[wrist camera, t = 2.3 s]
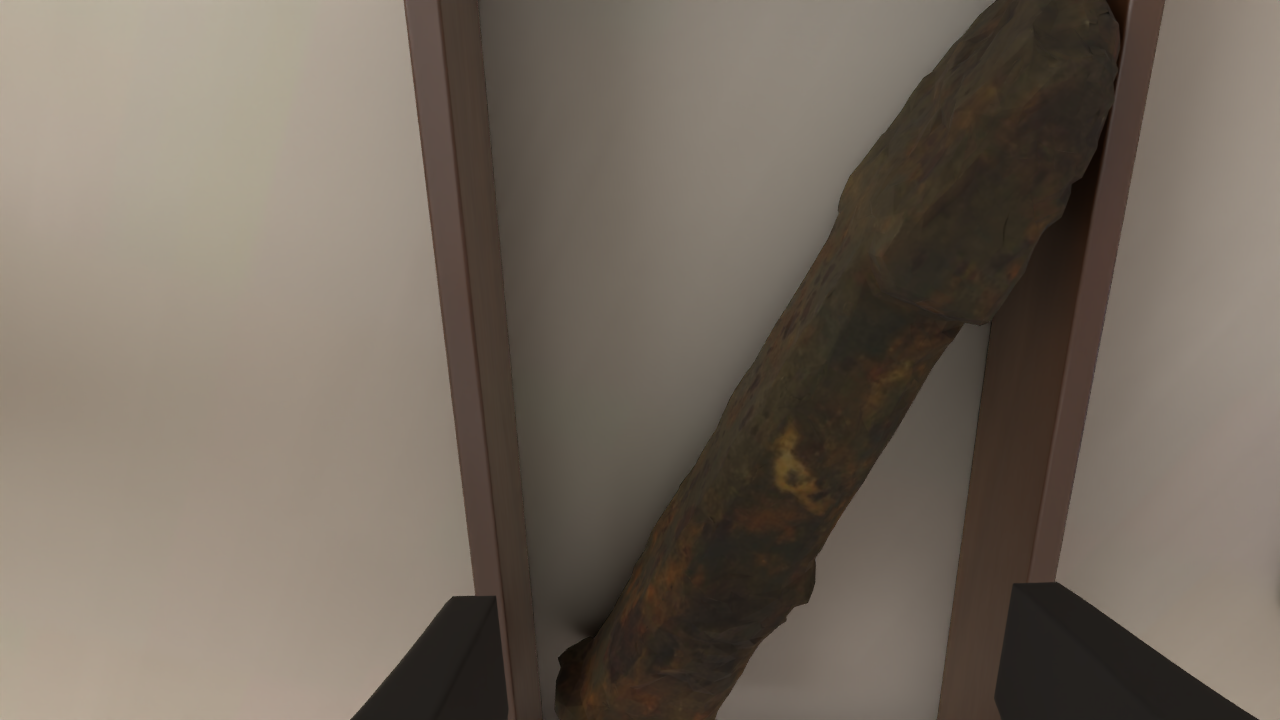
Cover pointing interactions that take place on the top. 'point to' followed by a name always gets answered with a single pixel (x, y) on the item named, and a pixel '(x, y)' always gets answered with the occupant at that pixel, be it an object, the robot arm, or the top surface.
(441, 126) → the storage box
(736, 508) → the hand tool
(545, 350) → the top surface
